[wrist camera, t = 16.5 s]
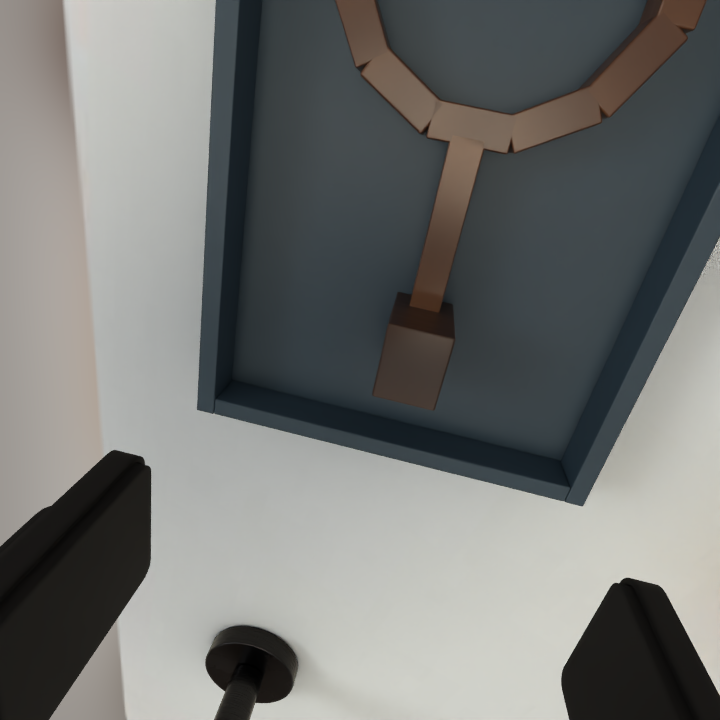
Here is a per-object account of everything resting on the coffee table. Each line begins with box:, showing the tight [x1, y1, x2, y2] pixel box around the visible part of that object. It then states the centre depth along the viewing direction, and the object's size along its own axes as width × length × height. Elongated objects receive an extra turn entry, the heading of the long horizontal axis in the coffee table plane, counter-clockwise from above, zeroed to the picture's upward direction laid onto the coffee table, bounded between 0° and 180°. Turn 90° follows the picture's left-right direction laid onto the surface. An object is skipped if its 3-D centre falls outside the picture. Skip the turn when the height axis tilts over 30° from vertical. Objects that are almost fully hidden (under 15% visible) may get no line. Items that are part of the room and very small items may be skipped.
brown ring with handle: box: [335, 0, 707, 411], centre depth 15 cm, size 20×11×4 cm, turn 169°
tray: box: [197, 0, 720, 506], centre depth 16 cm, size 18×28×2 cm, turn 169°
